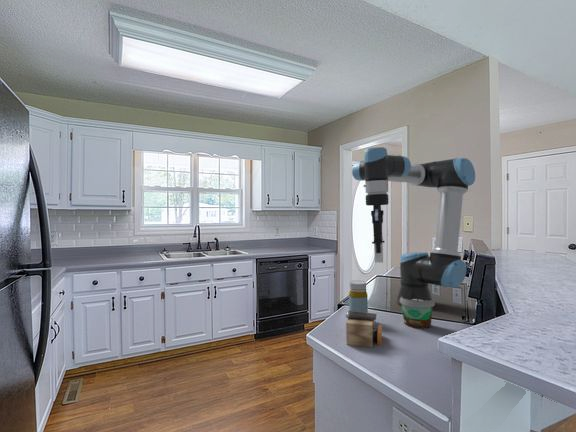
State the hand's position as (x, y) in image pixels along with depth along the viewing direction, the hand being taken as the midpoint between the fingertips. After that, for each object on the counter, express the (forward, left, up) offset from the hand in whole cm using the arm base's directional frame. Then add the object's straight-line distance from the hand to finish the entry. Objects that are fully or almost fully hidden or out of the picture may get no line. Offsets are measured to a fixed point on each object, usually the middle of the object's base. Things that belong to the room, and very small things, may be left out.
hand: (379, 262), depth 109 cm
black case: (+8, +1, -25) cm, 26 cm away
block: (+8, +1, -25) cm, 26 cm away
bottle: (-1, -14, -25) cm, 29 cm away
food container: (-17, 0, -25) cm, 30 cm away
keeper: (+8, +1, -18) cm, 20 cm away
